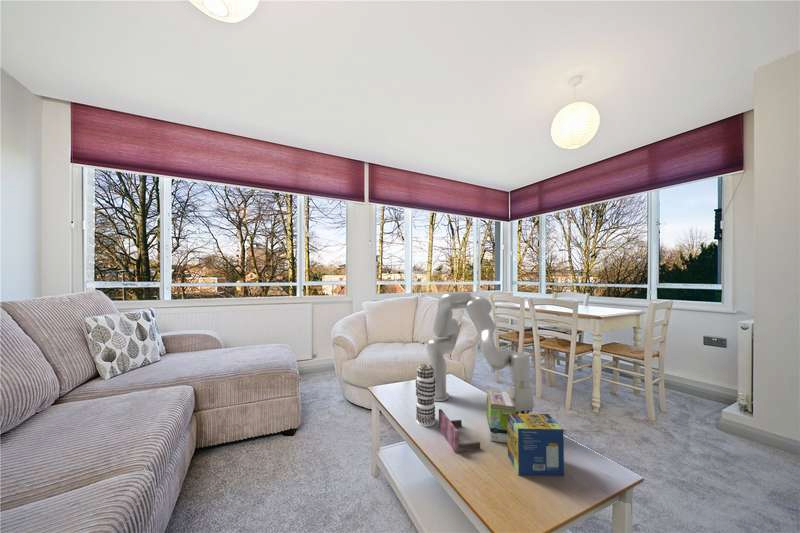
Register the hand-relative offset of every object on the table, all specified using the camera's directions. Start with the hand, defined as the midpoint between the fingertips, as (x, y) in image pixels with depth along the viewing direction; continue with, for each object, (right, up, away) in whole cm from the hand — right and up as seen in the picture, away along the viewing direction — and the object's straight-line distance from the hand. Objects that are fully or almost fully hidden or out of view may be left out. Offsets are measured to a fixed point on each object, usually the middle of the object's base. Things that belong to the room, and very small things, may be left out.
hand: (521, 426), depth 123 cm
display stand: (-28, -2, -6) cm, 29 cm away
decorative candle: (-40, -2, +7) cm, 41 cm away
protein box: (-5, -1, -23) cm, 24 cm away
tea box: (-9, -2, -2) cm, 10 cm away
